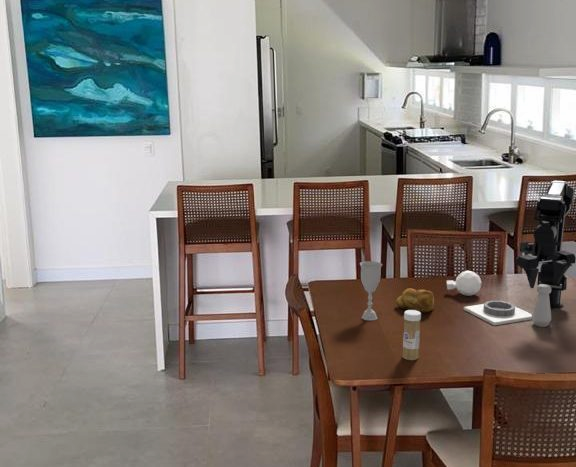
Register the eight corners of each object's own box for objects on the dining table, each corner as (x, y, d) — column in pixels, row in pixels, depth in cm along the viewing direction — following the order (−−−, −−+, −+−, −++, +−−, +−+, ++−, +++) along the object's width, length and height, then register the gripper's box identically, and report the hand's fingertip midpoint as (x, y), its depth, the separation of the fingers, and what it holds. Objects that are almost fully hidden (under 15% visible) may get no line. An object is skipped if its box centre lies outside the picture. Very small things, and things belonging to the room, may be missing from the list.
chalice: (383, 316, 235) (385, 262, 230) (376, 322, 229) (378, 268, 224) (362, 312, 238) (363, 260, 233) (355, 319, 232) (356, 265, 227)
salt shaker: (551, 328, 224) (555, 288, 221) (532, 327, 225) (535, 287, 222) (549, 322, 229) (552, 283, 226) (530, 320, 230) (533, 282, 227)
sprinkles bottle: (399, 358, 201) (401, 312, 198) (407, 353, 205) (409, 308, 202) (413, 362, 198) (415, 316, 195) (421, 357, 202) (424, 311, 199)
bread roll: (392, 310, 241) (393, 287, 239) (402, 301, 249) (403, 279, 247) (429, 316, 235) (431, 292, 233) (438, 307, 243) (439, 285, 241)
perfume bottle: (481, 285, 260) (447, 287, 263) (480, 264, 256) (445, 267, 258) (483, 300, 253) (448, 302, 256) (482, 278, 248) (446, 281, 251)
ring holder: (502, 303, 247) (503, 295, 246) (534, 318, 232) (535, 309, 232) (463, 309, 241) (464, 301, 240) (494, 325, 226) (495, 316, 226)
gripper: (553, 229, 231) (549, 276, 235) (505, 234, 225) (502, 282, 228) (579, 237, 221) (574, 285, 225) (530, 242, 215) (526, 292, 218)
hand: (543, 286), depth 224 cm, fingers open, 9 cm apart
